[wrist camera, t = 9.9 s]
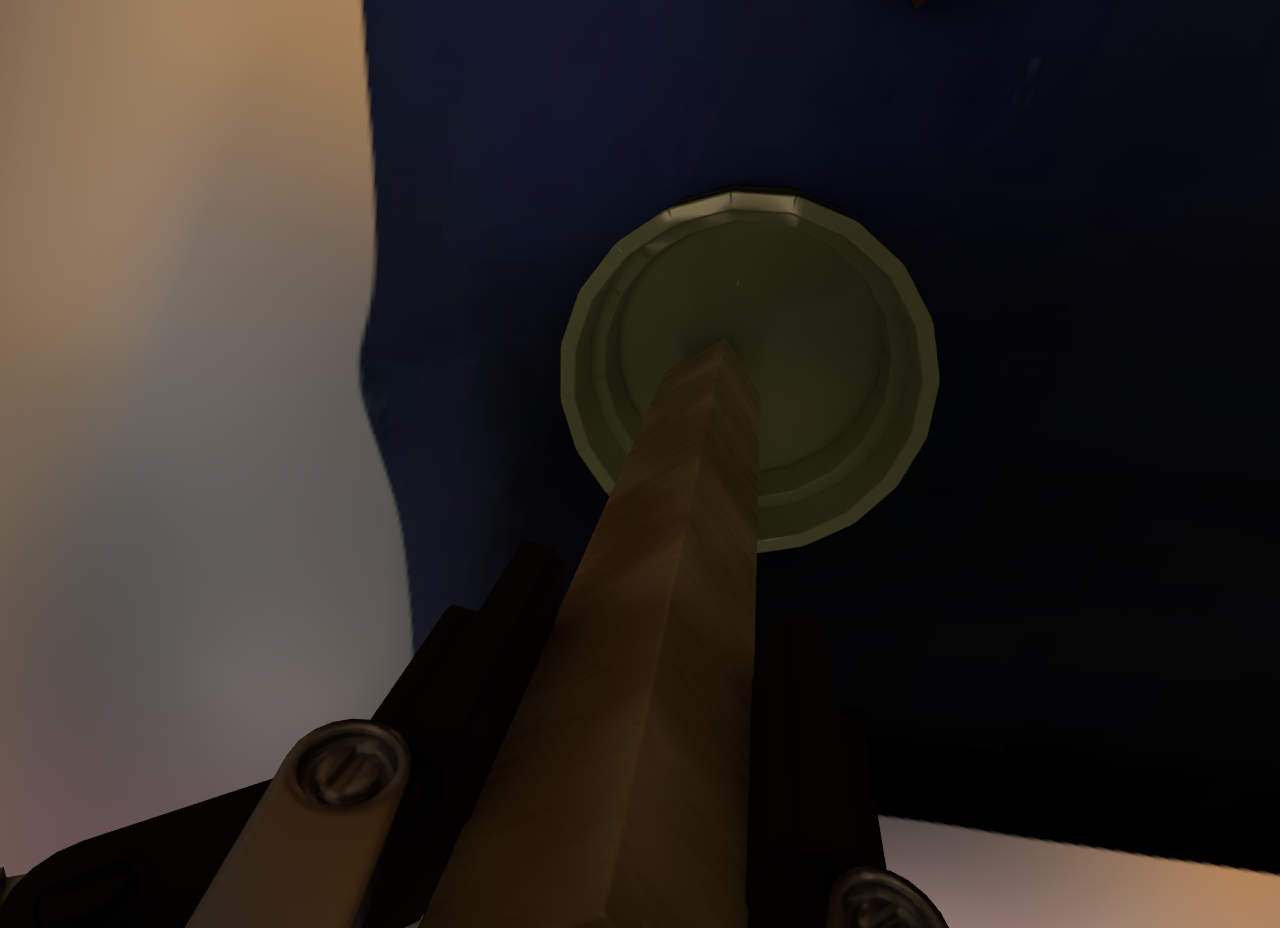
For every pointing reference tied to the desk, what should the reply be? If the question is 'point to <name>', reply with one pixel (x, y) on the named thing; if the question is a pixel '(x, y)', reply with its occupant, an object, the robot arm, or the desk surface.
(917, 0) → the stand
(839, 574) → the desk surface
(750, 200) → the bowl
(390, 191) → the desk surface
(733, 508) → the stick
